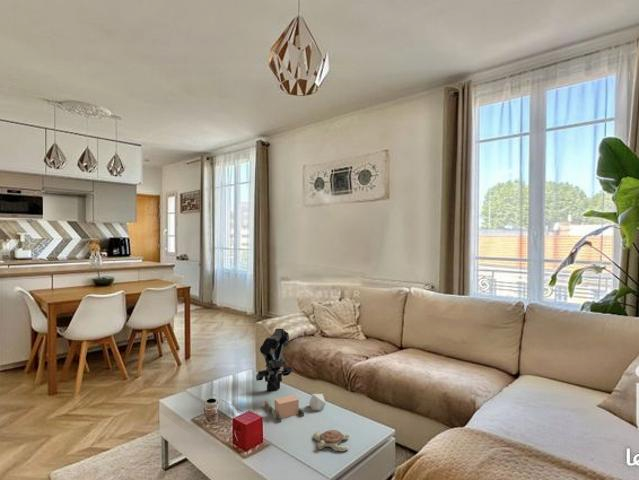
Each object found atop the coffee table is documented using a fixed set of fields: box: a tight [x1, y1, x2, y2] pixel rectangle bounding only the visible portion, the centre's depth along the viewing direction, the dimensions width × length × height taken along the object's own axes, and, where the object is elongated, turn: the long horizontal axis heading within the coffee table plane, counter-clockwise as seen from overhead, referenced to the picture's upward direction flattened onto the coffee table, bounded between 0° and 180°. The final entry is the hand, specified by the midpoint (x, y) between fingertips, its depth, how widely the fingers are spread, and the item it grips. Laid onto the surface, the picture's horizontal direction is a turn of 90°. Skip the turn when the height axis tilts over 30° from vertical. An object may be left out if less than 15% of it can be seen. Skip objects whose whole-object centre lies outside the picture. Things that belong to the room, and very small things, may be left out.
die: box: [308, 393, 327, 411], centre depth 186 cm, size 8×9×10 cm
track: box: [264, 400, 305, 424], centre depth 182 cm, size 19×13×4 cm
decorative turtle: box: [312, 429, 350, 452], centre depth 157 cm, size 18×17×5 cm
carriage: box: [274, 394, 300, 419], centre depth 179 cm, size 6×10×7 cm, turn 119°
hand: (278, 389), depth 188 cm, fingers closed
